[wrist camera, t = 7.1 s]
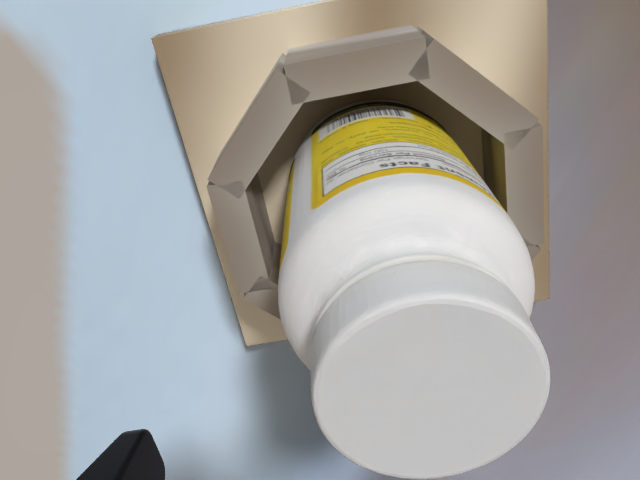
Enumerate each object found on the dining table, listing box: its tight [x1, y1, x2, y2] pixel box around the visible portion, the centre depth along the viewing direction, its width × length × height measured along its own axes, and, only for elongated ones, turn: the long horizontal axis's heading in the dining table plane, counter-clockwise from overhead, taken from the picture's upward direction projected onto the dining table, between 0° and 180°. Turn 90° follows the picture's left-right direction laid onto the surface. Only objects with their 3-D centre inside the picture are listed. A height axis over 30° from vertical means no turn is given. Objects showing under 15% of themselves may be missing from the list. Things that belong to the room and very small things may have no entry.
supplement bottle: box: [278, 99, 550, 479], centre depth 14 cm, size 5×5×10 cm
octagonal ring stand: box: [151, 0, 550, 346], centre depth 17 cm, size 11×11×3 cm
